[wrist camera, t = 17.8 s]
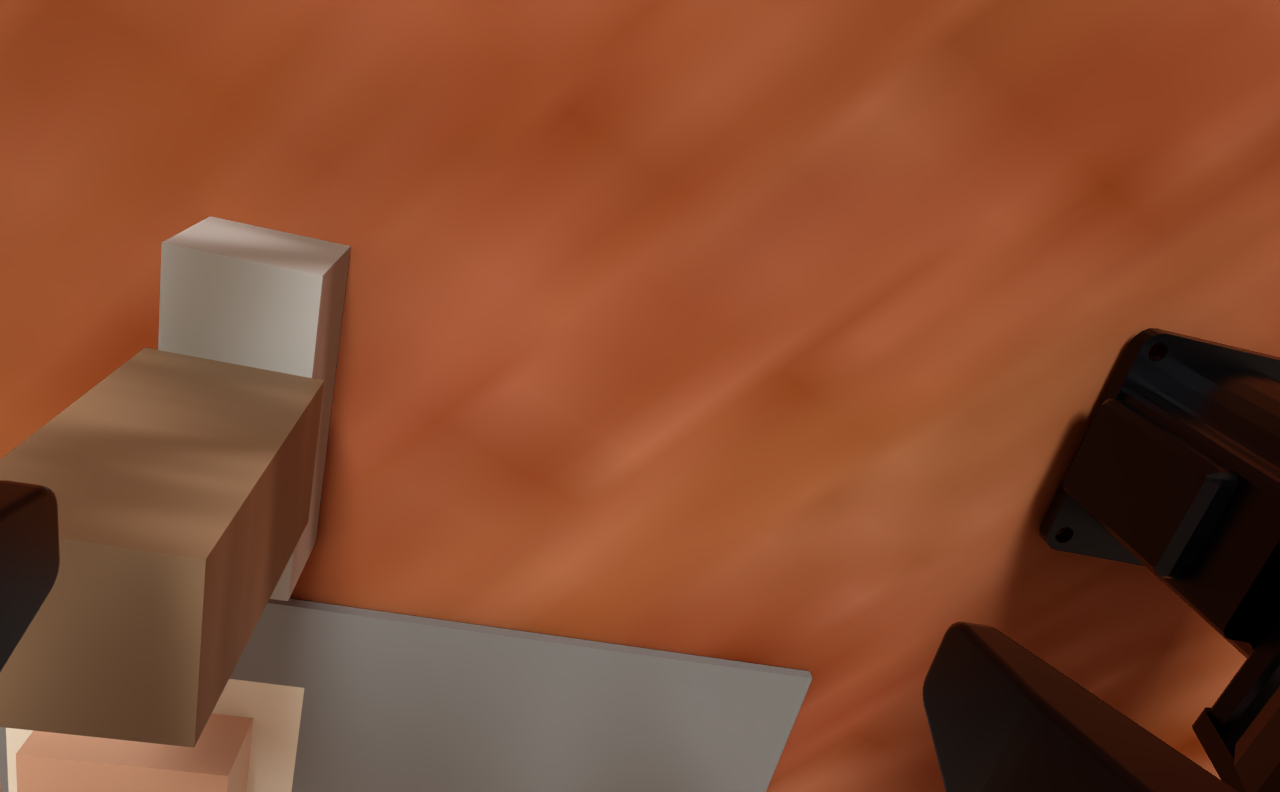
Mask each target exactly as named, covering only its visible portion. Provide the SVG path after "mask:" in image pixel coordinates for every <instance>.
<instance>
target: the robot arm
mask: <svg viewBox="0 0 1280 792" xmlns="http://www.w3.org/2000/svg"><path fill="white" fill-rule="evenodd" d="M1157 343H1158V344H1157ZM1155 344H1157V349H1156V350H1155V351H1154V352H1153V353H1152V354H1150V355H1148V353H1149V350H1150V348H1151V347H1152V346H1153V345H1155ZM1064 527H1065V529H1064V530H1063V531H1062V532H1061V533H1060V534H1058V535H1056V533H1057V532H1058V531H1059V530H1060V529H1062V528H1064ZM1039 532H1040V536H1041V537H1042V539H1043V540H1044V541H1045V542H1046V543H1047V544H1048V545H1049V546H1050V547H1051V548H1053V549H1055V550H1059V551H1064V552H1070V553H1075V554H1081V555H1087V556H1092V557H1098V558H1104V559H1109V560H1115V561H1120V562H1126V563H1132V564H1137V565H1143V566H1146V567H1147V568H1148V569H1149V570H1151V571H1152V572H1153V573H1154V574H1155V575H1156V576H1157V577H1158V578H1159V579H1160V580H1161V581H1163V582H1164V583H1165V584H1166V585H1167V586H1168V587H1169V588H1170V589H1171V590H1172V591H1174V592H1175V593H1176V594H1177V595H1178V596H1179V597H1180V598H1181V599H1182V600H1183V601H1185V602H1186V603H1187V604H1188V605H1189V606H1190V607H1191V608H1192V609H1193V610H1194V611H1195V612H1197V613H1198V614H1199V615H1200V616H1201V617H1202V618H1203V619H1204V620H1205V621H1206V622H1208V623H1209V624H1210V625H1211V626H1212V627H1213V628H1214V629H1215V630H1216V631H1217V632H1219V633H1220V634H1221V635H1222V636H1223V637H1224V638H1225V639H1226V640H1227V641H1228V642H1229V643H1231V644H1232V645H1233V646H1234V647H1235V648H1236V649H1237V650H1238V651H1239V652H1240V653H1242V654H1243V655H1244V656H1245V657H1246V658H1247V660H1246V661H1245V662H1244V664H1243V665H1242V666H1241V668H1240V669H1239V671H1238V672H1237V673H1236V675H1235V676H1234V677H1233V679H1232V680H1231V682H1230V683H1229V684H1228V686H1227V687H1226V688H1225V690H1224V691H1223V693H1222V694H1221V695H1220V697H1219V698H1218V699H1217V701H1216V702H1215V704H1214V705H1213V706H1212V708H1205V709H1204V710H1203V712H1202V713H1201V714H1200V716H1199V717H1198V719H1197V720H1196V721H1195V723H1194V724H1193V725H1192V728H1193V730H1194V732H1195V734H1196V735H1197V737H1198V739H1199V741H1200V743H1201V744H1202V746H1203V748H1204V750H1205V751H1206V753H1207V755H1208V757H1209V759H1210V760H1211V762H1212V764H1213V766H1214V768H1215V769H1216V771H1217V773H1218V775H1219V777H1220V778H1221V780H1222V781H1221V780H1220V779H1218V778H1217V777H1215V776H1214V775H1212V774H1211V773H1209V772H1208V771H1206V770H1205V769H1203V768H1202V767H1200V766H1199V765H1197V764H1196V763H1195V762H1193V761H1192V760H1190V759H1189V758H1187V757H1186V756H1184V755H1183V754H1181V753H1180V752H1178V751H1177V750H1175V749H1174V748H1172V747H1171V746H1169V745H1168V744H1166V743H1165V742H1163V741H1162V740H1160V739H1159V738H1157V737H1156V736H1154V735H1153V734H1151V733H1150V732H1148V731H1147V730H1145V729H1144V728H1143V727H1141V726H1140V725H1138V724H1137V723H1135V722H1134V721H1132V720H1131V719H1129V718H1128V717H1126V716H1125V715H1123V714H1122V713H1120V712H1119V711H1117V710H1116V709H1114V708H1113V707H1111V706H1110V705H1108V704H1107V703H1105V702H1104V701H1102V700H1101V699H1099V698H1098V697H1096V696H1095V695H1093V694H1092V693H1091V692H1089V691H1088V690H1086V689H1085V688H1083V687H1082V686H1080V685H1079V684H1077V683H1076V682H1074V681H1073V680H1071V679H1070V678H1068V677H1067V676H1065V675H1064V674H1062V673H1061V672H1059V671H1058V670H1056V669H1055V668H1053V667H1052V666H1050V665H1049V664H1047V663H1046V662H1044V661H1043V660H1041V659H1040V658H1038V657H1037V656H1036V655H1034V654H1033V653H1031V652H1030V651H1028V650H1027V649H1025V648H1024V647H1022V646H1021V645H1019V644H1018V643H1016V642H1015V641H1013V640H1012V639H1010V638H1009V637H1007V636H1006V635H1004V634H1003V633H1001V632H1000V631H998V630H997V629H995V628H993V627H991V626H987V625H981V624H974V623H967V622H957V623H954V624H952V625H951V626H950V627H949V628H948V629H947V631H946V633H945V635H944V637H943V639H942V642H941V644H940V646H939V648H938V651H937V653H936V655H935V657H934V660H933V662H932V664H931V666H930V669H929V671H928V673H927V675H926V678H925V681H924V686H923V702H924V707H925V711H926V715H927V719H928V723H929V727H930V731H931V735H932V739H933V743H934V747H935V750H936V754H937V758H938V762H939V766H940V770H941V774H942V778H943V782H944V786H945V790H946V792H1280V358H1279V357H1275V356H1271V355H1266V354H1262V353H1258V352H1254V351H1250V350H1245V349H1241V348H1237V347H1233V346H1228V345H1224V344H1220V343H1216V342H1212V341H1207V340H1203V339H1199V338H1195V337H1190V336H1186V335H1182V334H1178V333H1174V332H1169V331H1165V330H1161V329H1154V328H1150V329H1147V330H1144V331H1142V332H1140V333H1139V334H1138V335H1136V336H1135V338H1134V339H1133V341H1132V342H1131V344H1130V346H1129V348H1128V350H1127V352H1126V354H1125V356H1124V358H1123V360H1122V362H1121V364H1120V366H1119V368H1118V370H1117V372H1116V374H1115V376H1114V378H1113V380H1112V382H1111V384H1110V386H1109V388H1108V390H1107V392H1106V394H1105V396H1104V398H1103V400H1102V402H1101V404H1100V406H1099V408H1098V410H1097V412H1096V414H1095V416H1094V418H1093V420H1092V422H1091V424H1090V426H1089V428H1088V430H1087V432H1086V434H1085V436H1084V438H1083V440H1082V442H1081V444H1080V446H1079V448H1078V450H1077V452H1076V454H1075V456H1074V458H1073V460H1072V463H1071V465H1070V467H1069V469H1068V471H1067V473H1066V475H1065V477H1064V479H1063V481H1062V483H1061V485H1060V487H1059V489H1058V491H1057V493H1056V495H1055V497H1054V499H1053V501H1052V503H1051V505H1050V507H1049V509H1048V511H1047V513H1046V515H1045V517H1044V519H1043V521H1042V523H1041V525H1040V529H1039ZM59 565H60V551H59V525H58V504H57V498H56V496H55V493H54V492H53V491H52V490H51V489H50V488H48V487H46V486H42V485H35V484H29V483H22V482H15V481H9V480H0V672H1V671H2V669H3V667H4V666H5V664H6V662H7V661H8V659H9V658H10V656H11V654H12V653H13V651H14V649H15V648H16V646H17V645H18V643H19V641H20V640H21V638H22V637H23V635H24V633H25V632H26V630H27V628H28V627H29V625H30V624H31V622H32V620H33V619H34V617H35V615H36V614H37V612H38V611H39V609H40V607H41V606H42V604H43V602H44V601H45V599H46V598H47V596H48V594H49V593H50V591H51V589H52V587H53V586H54V583H55V581H56V578H57V575H58V571H59Z"/></svg>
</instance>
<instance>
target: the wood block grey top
mask: <svg viewBox="0 0 1280 792" xmlns="http://www.w3.org/2000/svg"><path fill="white" fill-rule="evenodd" d="M350 248H351V246H348V245H343V244H338V243H333V242H329V241H324V240H319V239H314V238H310V237H305V236H300V235H296V234H291V233H286V232H281V231H277V230H272V229H267V228H263V227H258V226H253V225H248V224H244V223H239V222H234V221H229V220H225V219H220V218H215V217H211V216H210V217H208V218H206V219H204V220H202V221H201V222H199V223H197V224H195V225H193V226H191V227H189V228H188V229H186V230H184V231H182V232H180V233H178V234H177V235H175V236H173V237H171V238H169V239H167V240H165V241H164V242H162V250H161V281H160V312H159V343H158V350H156V349H150V348H144V349H142V350H141V351H140V352H139V353H137V354H136V355H135V356H133V357H132V358H131V359H130V360H128V361H127V362H126V363H124V364H123V365H122V366H121V367H119V368H118V369H117V370H115V371H114V372H113V373H111V374H110V375H109V376H108V377H106V378H105V379H104V380H102V381H101V382H100V383H99V384H97V385H96V386H95V387H93V388H92V389H91V390H89V391H88V392H87V393H86V394H84V395H83V396H82V397H80V398H79V399H78V400H77V401H75V402H74V403H73V404H71V405H70V406H69V407H67V408H66V409H65V410H64V411H62V412H61V413H60V414H58V415H57V416H56V417H55V418H53V419H52V420H51V421H49V422H48V423H47V424H46V425H44V426H43V427H42V428H40V429H39V430H38V431H36V432H35V433H34V434H33V435H31V436H30V437H29V438H27V439H26V440H25V441H24V442H22V443H21V444H20V445H18V446H17V447H16V448H14V449H13V450H12V451H11V452H9V453H8V454H7V455H5V456H4V457H3V458H2V459H0V480H9V481H15V482H22V483H29V484H35V485H42V486H46V487H48V488H50V489H51V490H52V491H53V492H54V493H55V496H56V498H57V504H58V525H59V551H60V565H59V571H58V575H57V578H56V581H55V583H54V586H53V587H52V589H51V591H50V593H49V594H48V596H47V598H46V599H45V601H44V602H43V604H42V606H41V607H40V609H39V611H38V612H37V614H36V615H35V617H34V619H33V620H32V622H31V624H30V625H29V627H28V628H27V630H26V632H25V633H24V635H23V637H22V638H21V640H20V641H19V643H18V645H17V646H16V648H15V649H14V651H13V653H12V654H11V656H10V658H9V659H8V661H7V662H6V664H5V666H4V667H3V669H2V671H1V672H0V727H5V728H14V729H24V730H33V731H43V732H52V733H61V734H71V735H80V736H90V737H99V738H108V739H118V740H127V741H137V742H146V743H156V744H165V745H174V746H184V747H193V748H194V747H195V745H196V743H197V741H198V739H199V737H200V735H201V733H202V731H203V729H204V728H205V726H206V724H207V722H208V720H209V718H210V716H211V714H212V712H213V710H214V708H215V706H216V704H217V702H218V700H219V698H220V696H221V694H222V692H223V690H224V688H225V686H226V684H227V682H228V680H229V678H230V676H231V674H232V672H233V670H234V668H235V666H236V664H237V662H238V660H239V658H240V656H241V654H242V652H243V650H244V648H245V646H246V644H247V642H248V640H249V638H250V636H251V634H252V632H253V630H254V628H255V626H256V624H257V622H258V621H259V619H260V617H261V615H262V613H263V611H264V609H265V607H266V605H267V603H268V601H269V599H275V600H283V601H288V600H289V598H290V596H291V594H292V592H293V590H294V588H295V585H296V583H297V581H298V579H299V577H300V575H301V573H302V571H303V568H304V566H305V564H306V562H307V560H308V558H309V556H310V554H311V551H312V549H313V547H314V545H315V543H316V536H317V527H318V519H319V511H320V502H321V494H322V485H323V477H324V468H325V460H326V451H327V443H328V434H329V426H330V417H331V409H332V401H333V392H334V384H335V375H336V367H337V358H338V350H339V341H340V333H341V324H342V316H343V307H344V299H345V291H346V282H347V274H348V265H349V257H350Z"/></svg>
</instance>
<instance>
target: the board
mask: <svg viewBox="0 0 1280 792" xmlns="http://www.w3.org/2000/svg"><path fill="white" fill-rule="evenodd" d="M811 680H812V677H811V674H810V672H809V671H803V670H796V669H788V668H781V667H774V666H767V665H760V664H753V663H746V662H739V661H731V660H724V659H717V658H710V657H703V656H696V655H689V654H681V653H674V652H667V651H660V650H653V649H646V648H639V647H632V646H624V645H617V644H610V643H603V642H596V641H589V640H582V639H574V638H567V637H560V636H553V635H546V634H539V633H532V632H525V631H517V630H510V629H503V628H496V627H489V626H482V625H475V624H468V623H460V622H453V621H446V620H439V619H432V618H425V617H418V616H410V615H403V614H396V613H389V612H382V611H375V610H368V609H361V608H353V607H346V606H339V605H332V604H325V603H318V602H311V601H303V600H296V599H289V600H288V601H283V600H275V599H269V601H268V603H267V605H266V607H265V609H264V611H263V613H262V615H261V617H260V619H259V621H258V622H257V624H256V626H255V628H254V630H253V632H252V634H251V636H250V638H249V640H248V642H247V644H246V646H245V648H244V650H243V652H242V654H241V656H240V658H239V660H238V662H237V664H236V666H235V668H234V670H233V672H232V674H231V676H230V678H229V680H228V682H227V684H226V686H225V688H224V690H223V692H222V694H221V696H220V698H219V700H218V702H217V704H216V706H215V708H214V710H213V712H212V713H213V714H222V715H230V716H239V717H248V718H254V720H253V730H252V741H251V751H250V761H249V771H248V781H247V791H246V792H766V790H767V787H768V785H769V783H770V780H771V778H772V775H773V773H774V770H775V768H776V766H777V763H778V761H779V758H780V756H781V753H782V751H783V748H784V746H785V744H786V741H787V739H788V736H789V734H790V731H791V729H792V727H793V724H794V722H795V719H796V717H797V714H798V712H799V710H800V707H801V705H802V702H803V700H804V697H805V695H806V692H807V690H808V688H809V685H810V683H811ZM32 732H33V730H24V729H14V728H5V727H0V785H1V792H17V775H16V753H17V752H18V750H19V749H20V748H21V746H22V745H23V744H24V742H25V741H26V740H27V738H28V737H29V736H30V734H31V733H32Z"/></svg>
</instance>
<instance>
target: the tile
mask: <svg viewBox="0 0 1280 792" xmlns="http://www.w3.org/2000/svg"><path fill="white" fill-rule="evenodd" d="M253 720H254V718H248V717H239V716H230V715H222V714H213V713H212V714H211V716H210V718H209V720H208V722H207V724H206V726H205V728H204V729H203V731H202V733H201V735H200V737H199V739H198V741H197V743H196V745H195V747H194V748H193V747H184V746H174V745H165V744H156V743H146V742H137V741H127V740H118V739H108V738H99V737H90V736H80V735H71V734H61V733H52V732H43V731H33V732H32V733H31V734H30V736H29V737H28V738H27V740H26V741H25V742H24V744H23V745H22V746H21V748H20V749H19V750H18V752H17V753H16V775H17V792H246V791H247V781H248V771H249V761H250V751H251V741H252V730H253Z"/></svg>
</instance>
